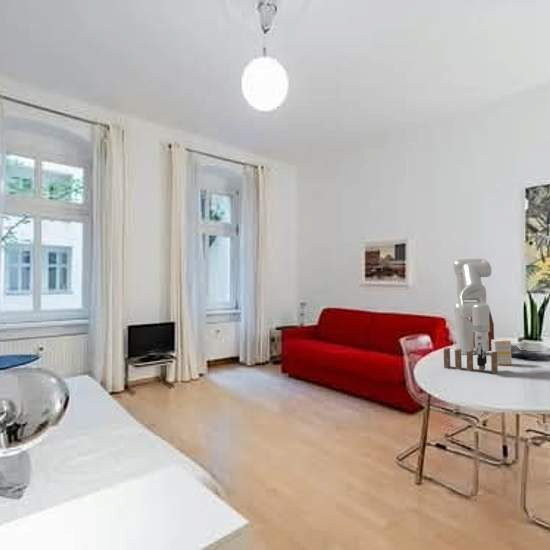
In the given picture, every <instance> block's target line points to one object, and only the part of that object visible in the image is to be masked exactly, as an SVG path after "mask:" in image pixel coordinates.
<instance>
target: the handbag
mask: <svg viewBox="0 0 550 550" xmlns="http://www.w3.org/2000/svg"><path fill="white" fill-rule="evenodd" d="M469 320H470V321H471V322H472V323H473V319H472V317H469ZM489 326H490V332H488V339H489V350H488V351H492V346H491V340H495V329H494V328H495V327H494V321H493V316H492V313H491V311H490V312H489ZM473 332H474V331H473ZM474 349H475V332H474Z"/></svg>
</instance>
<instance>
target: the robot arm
mask: <svg viewBox="0 0 550 550" xmlns="http://www.w3.org/2000/svg"><path fill="white" fill-rule="evenodd" d="M453 272H454V274H455V275H456V296H457V302H456V303H455V304H454V307H453V309H454V315H455V324H456V325H455V329H456V333H455V334H456V344H455V345H454V347H455V348H456V349H461V355H466V356H467V350H473V355H477V356H476V359H477V360H476V361H477V362H476V363H477V366H478V367H479V366H485V367H486V365H487V362H488V361H487V352H489V351H490V350H489V339H488V332H490V326H489V312H491V309H490V306H489V304H488V303H487V289H486V287H485V286H484V285H483V284H482V278H488V277H491V275H492V272H493V271H492V266H491V264H490V262H489V261H488V260H486V259H485V258H465V259H462V258H461V259H457V260H455V261H454V262H453ZM470 317H472V319H473V323H472V322H471V321H470ZM473 331H474V332H475V348H474V332H473ZM456 349H454V350H453V352H454V353H455V350H456ZM481 350H483V352H482V351H481ZM484 351H485V358H484Z"/></svg>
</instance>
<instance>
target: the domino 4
mask: <svg viewBox="0 0 550 550" xmlns="http://www.w3.org/2000/svg"><path fill="white" fill-rule="evenodd" d="M481 351H482V352H483V350H481ZM484 358H485V351H484ZM485 369H486V365H485V366H478V370H479V371H485Z"/></svg>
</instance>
